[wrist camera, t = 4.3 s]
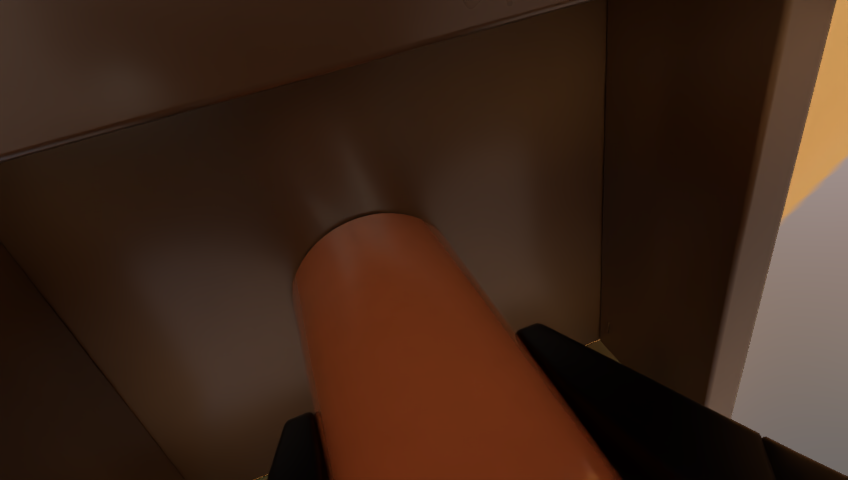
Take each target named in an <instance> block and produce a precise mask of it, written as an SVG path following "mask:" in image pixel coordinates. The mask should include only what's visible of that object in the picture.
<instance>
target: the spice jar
mask: <svg viewBox="0 0 848 480" xmlns="http://www.w3.org/2000/svg"><path fill="white" fill-rule="evenodd" d="M292 306H293V312H294V317H295V322H296V327H297V332H298V337H299V342H300V347H301V352H302V357H303V362H304V367H305V372H306V377H307V382H308V387H309V392H310V397H311V402H312V407H313V412H314V416H315V420H316V425H317V429H318V434H319V439H320V444H321V449H322V454H323V459H324V464H325V469H326V474H327V479H328V480H623V479H622V478H621V476H620V475H619V474H618V472H617V471H616V469H615V468H614V467H613V465H612V464H611V463H610V461H609V460H608V459H607V457H606V456H605V454H604V453H603V452H602V450H601V449H600V448H599V446H598V445H597V444H596V442H595V441H594V439H593V438H592V437H591V435H590V434H589V433H588V431H587V430H586V428H585V427H584V426H583V424H582V423H581V422H580V420H579V419H578V418H577V416H576V415H575V413H574V412H573V411H572V409H571V408H570V407H569V405H568V404H567V403H566V401H565V400H564V398H563V397H562V396H561V394H560V393H559V392H558V390H557V389H556V387H555V386H554V385H553V383H552V382H551V381H550V379H549V378H548V377H547V375H546V374H545V372H544V371H543V370H542V368H541V367H540V366H539V364H538V363H537V362H536V360H535V359H534V357H533V356H532V355H531V353H530V352H529V351H528V349H527V348H526V346H525V345H524V344H523V342H522V341H521V340H520V338H519V337H518V336H517V334H516V333H515V331H514V330H513V329H512V327H511V326H510V325H509V323H508V322H507V321H506V319H505V318H504V316H503V315H502V314H501V312H500V311H499V310H498V308H497V307H496V305H495V304H494V303H493V301H492V300H491V299H490V297H489V296H488V295H487V293H486V292H485V290H484V289H483V288H482V286H481V285H480V284H479V282H478V281H477V280H476V278H475V277H474V275H473V274H472V273H471V271H470V270H469V269H468V267H467V266H466V264H465V263H464V262H463V260H462V259H461V258H460V256H459V255H458V254H457V252H456V251H455V249H454V248H453V247H452V245H451V244H450V243H449V241H448V240H447V239H446V237H445V236H444V235H443V234H442V233H441V232H440V231H439V230H438V229H437V228H435V227H434V226H433V225H431V224H429V223H428V222H426V221H424V220H422V219H419V218H416V217H414V216H409V215H405V214H398V213H378V214H371V215H367V216H363V217H359V218H356V219H353V220H351V221H348V222H346V223H344V224H342V225H340V226H338V227H336V228H335V229H333V230H332V231H330V232H329V233H327V234H326V235H325V236H324V237H322V238H321V239H320V240H319V241H318V242H317V243H316V244H315V245H314V246H313V247H312V248H311V249H310V251H309V252H308V253H307V255H306V256H305V258H304V259H303V260H302V262H301V264H300V266H299V268H298V270H297V273H296V275H295V278H294V282H293V287H292Z"/></svg>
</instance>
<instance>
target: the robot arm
mask: <svg viewBox="0 0 848 480" xmlns="http://www.w3.org/2000/svg"><path fill="white" fill-rule="evenodd" d="M516 334H517V336H518V337H519V338H520V340H521V341H522V342H523V344H524V345H525V346H526V348H527V349H528V351H529V352H530V353H531V355H532V356H533V357H534V359H535V360H536V362H537V363H538V364H539V366H540V367H541V368H542V370H543V371H544V372H545V374H546V375H547V377H548V378H549V379H550V381H551V382H552V383H553V385H554V386H555V387H556V389H557V390H558V392H559V393H560V394H561V396H562V397H563V398H564V400H565V401H566V403H567V404H568V405H569V407H570V408H571V409H572V411H573V412H574V413H575V415H576V416H577V418H578V419H579V420H580V422H581V423H582V424H583V426H584V427H585V428H586V430H587V431H588V433H589V434H590V435H591V437H592V438H593V439H594V441H595V442H596V444H597V445H598V446H599V448H600V449H601V450H602V452H603V453H604V454H605V456H606V457H607V459H608V460H609V461H610V463H611V464H612V465H613V467H614V468H615V469H616V471H617V472H618V474H619V475H620V476H621V478H622V479H623V480H848V476H846V475H843V474H841V473H839V472H837V471H835V470H833V469H831V468H829V467H827V466H824V465H823V464H820V463H818V462H816V461H814V460H812V459H810V458H808V457H806V456H804V455H802V454H799V453H798V452H795V451H793V450H791V449H790V448H788V447H785V446H784V445H781V444H780V443H778V442H776V441H774V440H771V439H770V438H767V437H763V438H761V436H760V434H759V433H757V432H755V431H753V430H751V429H749V428H747V427H746V426H744V425H741V424H740V423H738V422H736V421H734V420H732V419H730V418H728V417H726V416H724V415H722V414H720V413H718V412H716V411H714V410H712V409H710V408H708V407H706V406H704V405H702V404H700V403H698V402H696V401H694V400H692V399H690V398H688V397H686V396H684V395H682V394H680V393H678V392H676V391H674V390H672V389H670V388H668V387H666V386H664V385H662V384H660V383H658V382H656V381H654V380H652V379H650V378H648V377H646V376H645V375H643V374H641V373H639V372H637V371H635V370H633V369H631V368H629V367H627V366H625V365H623V364H621V363H619V362H617V361H615V360H613V359H611V358H609V357H607V356H605V355H603V354H601V353H599V352H597V351H595V350H593V349H591V348H589V347H587V346H585V345H583V344H581V343H579V342H577V341H575V340H573V339H571V338H569V337H567V336H565V335H563V334H561V333H559V332H557V331H555V330H553V329H551V328H549V327H547V326H545V325H543V324H540V323H535V324H532V325H530V326H527V327H525V328H522V329H520V330H518V331H517V332H516ZM267 480H328V479H327V474H326V469H325V464H324V459H323V454H322V449H321V444H320V439H319V434H318V429H317V425H316V420H315V416H314V414H313V413H311V412H307V413H305V414H302V415H299V416H297V417H294V418H292V419H289V420H288V421H287V422H286V423H285V424H284V427H283V430H282V433H281V436H280V439H279V443H278V446H277V449H276V452H275V455H274V458H273V462H272V465H271V468H270V471H269V474H268V478H267Z"/></svg>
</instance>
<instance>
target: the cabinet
mask: <svg viewBox="0 0 848 480" xmlns="http://www.w3.org/2000/svg"><path fill="white" fill-rule="evenodd" d="M590 1H594V0H0V163H2V162H6V161H10V160H13V159H17V158H21V157H24V156H28V155H32V154H35V153H39V152H43V151H46V150H50V149H54V148H57V147H61V146H65V145H68V144H72V143H75V142H79V141H83V140H86V139H90V138H94V137H97V136H101V135H105V134H108V133H112V132H116V131H119V130H123V129H127V128H130V127H134V126H137V125H141V124H145V123H148V122H152V121H156V120H159V119H163V118H167V117H170V116H174V115H178V114H181V113H185V112H189V111H192V110H196V109H200V108H203V107H207V106H210V105H214V104H218V103H221V102H225V101H229V100H232V99H236V98H240V97H243V96H247V95H251V94H254V93H258V92H262V91H265V90H269V89H273V88H276V87H280V86H283V85H287V84H291V83H294V82H298V81H302V80H305V79H309V78H313V77H316V76H320V75H324V74H327V73H331V72H335V71H338V70H342V69H345V68H349V67H353V66H356V65H360V64H364V63H367V62H371V61H375V60H378V59H382V58H386V57H389V56H393V55H397V54H400V53H404V52H408V51H411V50H415V49H418V48H422V47H426V46H429V45H433V44H437V43H440V42H444V41H448V40H451V39H455V38H459V37H462V36H466V35H470V34H473V33H477V32H481V31H484V30H488V29H491V28H495V27H499V26H502V25H506V24H510V23H513V22H517V21H521V20H524V19H528V18H532V17H535V16H539V15H543V14H546V13H550V12H553V11H557V10H561V9H564V8H568V7H572V6H575V5H579V4H583V3H586V2H590Z"/></svg>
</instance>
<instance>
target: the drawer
mask: <svg viewBox="0 0 848 480" xmlns="http://www.w3.org/2000/svg"><path fill="white" fill-rule="evenodd" d="M835 4H836V0H594V1H590V2H586V3H583V4H579V5H575V6H572V7H568V8H564V9H561V10H557V11H553V12H550V13H546V14H543V15H539V16H535V17H532V18H528V19H524V20H521V21H517V22H513V23H510V24H506V25H502V26H499V27H495V28H491V29H488V30H484V31H481V32H477V33H473V34H470V35H466V36H462V37H459V38H455V39H451V40H448V41H444V42H440V43H437V44H433V45H429V46H426V47H422V48H418V49H415V50H411V51H408V52H404V53H400V54H397V55H393V56H389V57H386V58H382V59H378V60H375V61H371V62H367V63H364V64H360V65H356V66H353V67H349V68H345V69H342V70H338V71H335V72H331V73H327V74H324V75H320V76H316V77H313V78H309V79H305V80H302V81H298V82H294V83H291V84H287V85H283V86H280V87H276V88H273V89H269V90H265V91H262V92H258V93H254V94H251V95H247V96H243V97H240V98H236V99H232V100H229V101H225V102H221V103H218V104H214V105H210V106H207V107H203V108H200V109H196V110H192V111H189V112H185V113H181V114H178V115H174V116H170V117H167V118H163V119H159V120H156V121H152V122H148V123H145V124H141V125H137V126H134V127H130V128H127V129H123V130H119V131H116V132H112V133H108V134H105V135H101V136H97V137H94V138H90V139H86V140H83V141H79V142H75V143H72V144H68V145H65V146H61V147H57V148H54V149H50V150H46V151H43V152H39V153H35V154H32V155H28V156H24V157H21V158H17V159H13V160H10V161H6V162H2V163H0V480H254V479H256V478H259V477H261V476H264V475H266V474H269V471H270V468H271V465H272V462H273V458H274V455H275V452H276V449H277V446H278V443H279V439H280V436H281V433H282V430H283V427H284V424H285V423H286V422H287V421H288V420H289V419H292V418H294V417H297V416H299V415H302V414H305V413H307V412H311V413H313V414H314V412H313V407H312V402H311V397H310V392H309V387H308V382H307V377H306V372H305V367H304V362H303V357H302V352H301V347H300V342H299V337H298V332H297V327H296V322H295V317H294V312H293V306H292V287H293V282H294V278H295V275H296V273H297V270H298V268H299V266H300V264H301V262H302V260H303V259H304V258H305V256H306V255H307V253H308V252H309V251H310V249H311V248H312V247H313V246H314V245H315V244H316V243H317V242H318V241H319V240H320V239H321V238H322V237H324V236H325V235H326V234H327V233H329V232H330V231H332V230H333V229H335V228H336V227H338V226H340V225H342V224H344V223H346V222H348V221H351V220H353V219H356V218H359V217H363V216H367V215H371V214H378V213H398V214H405V215H409V216H414V217H416V218H419V219H422V220H424V221H426V222H428V223H429V224H431V225H433V226H434V227H435V228H437V229H438V230H439V231H440V232H441V233H442V234H443V235H444V236H445V237H446V239H447V240H448V241H449V243H450V244H451V245H452V247H453V248H454V249H455V251H456V252H457V254H458V255H459V256H460V258H461V259H462V260H463V262H464V263H465V264H466V266H467V267H468V269H469V270H470V271H471V273H472V274H473V275H474V277H475V278H476V280H477V281H478V282H479V284H480V285H481V286H482V288H483V289H484V290H485V292H486V293H487V295H488V296H489V297H490V299H491V300H492V301H493V303H494V304H495V305H496V307H497V308H498V310H499V311H500V312H501V314H502V315H503V316H504V318H505V319H506V321H507V322H508V323H509V325H510V326H511V327H512V329H513V330H514V331H515V333H516V332H517V331H518V330H520V329H522V328H525V327H527V326H530V325H532V324H535V323H540V324H543V325H545V326H547V327H549V328H551V329H553V330H555V331H557V332H559V333H561V334H563V335H565V336H567V337H569V338H571V339H573V340H575V341H577V342H579V343H581V344H583V345H586V344H588V345H586V346H587V347H589V348H591V349H593V350H595V351H597V352H599V353H601V354H603V355H605V356H607V357H609V358H611V359H613V360H615V361H617V362H619V363H621V364H623V365H625V366H627V367H629V368H631V369H633V370H635V371H637V372H639V373H641V374H643V375H645V376H646V377H648V378H650V379H652V380H654V381H656V382H658V383H660V384H662V385H664V386H666V387H668V388H670V389H672V390H674V391H676V392H678V393H680V394H682V395H684V396H686V397H688V398H690V399H692V400H694V401H696V402H698V403H700V404H702V405H704V406H706V407H708V408H710V409H712V410H714V411H716V412H718V413H720V414H722V415H724V416H726V417H728V418H730V419H731V415H732V412H733V408H734V404H735V400H736V396H737V392H738V388H739V384H740V380H741V376H742V372H743V368H744V364H745V360H746V356H747V352H748V348H749V344H750V341H751V337H752V332H753V329H754V324H755V320H756V317H757V313H758V308H759V305H760V301H761V297H762V293H763V289H764V285H765V281H766V277H767V273H768V269H769V265H770V261H771V257H772V253H773V249H774V245H775V241H776V237H777V233H778V230H779V226H780V222H781V218H782V214H783V210H784V206H785V202H786V198H787V194H788V190H789V186H790V182H791V178H792V174H793V170H794V166H795V162H796V158H797V154H798V150H799V146H800V142H801V138H802V134H803V130H804V126H805V122H806V118H807V115H808V111H809V107H810V103H811V99H812V95H813V91H814V87H815V83H816V79H817V75H818V71H819V67H820V63H821V59H822V55H823V51H824V47H825V43H826V39H827V35H828V31H829V27H830V23H831V19H832V15H833V11H834V7H835ZM599 339H600V340H599ZM596 340H598V341H596ZM594 341H596V342H594ZM591 342H593V343H591ZM589 343H591V344H589ZM267 478H268V475H266V476H264V477H261V478H259V479H256V480H267Z"/></svg>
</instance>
